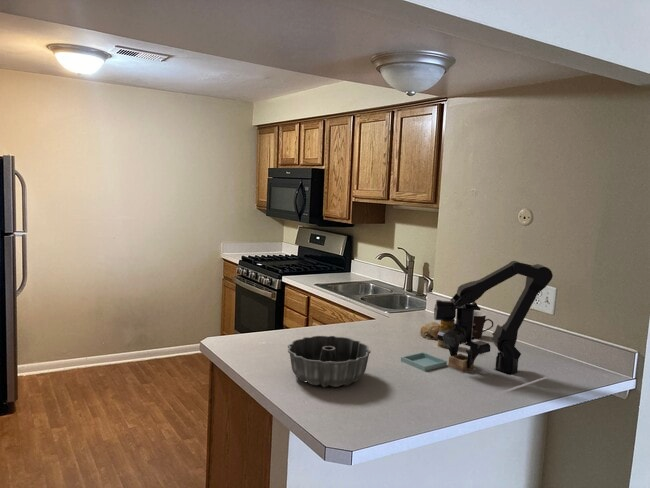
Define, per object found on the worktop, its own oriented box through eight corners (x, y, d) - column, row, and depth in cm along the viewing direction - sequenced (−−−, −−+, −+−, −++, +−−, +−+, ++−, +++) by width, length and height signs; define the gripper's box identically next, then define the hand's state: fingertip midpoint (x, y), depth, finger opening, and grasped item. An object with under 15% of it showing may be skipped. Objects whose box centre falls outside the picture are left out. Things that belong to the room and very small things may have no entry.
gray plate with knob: (477, 370, 179) (478, 362, 179) (462, 374, 175) (463, 366, 174) (459, 363, 186) (459, 355, 185) (444, 367, 181) (444, 359, 181)
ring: (473, 368, 180) (474, 358, 179) (462, 371, 176) (463, 361, 176) (459, 363, 184) (460, 353, 184) (448, 366, 181) (449, 356, 180)
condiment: (444, 344, 208) (446, 314, 207) (461, 350, 202) (464, 319, 201) (432, 347, 204) (434, 317, 202) (450, 353, 197) (452, 322, 196)
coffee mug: (458, 334, 223) (460, 311, 222) (474, 332, 227) (476, 310, 226) (477, 342, 213) (479, 318, 211) (493, 340, 216) (495, 317, 215)
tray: (446, 367, 182) (446, 361, 181) (424, 372, 175) (424, 366, 175) (422, 357, 191) (423, 352, 190) (400, 362, 184) (401, 356, 184)
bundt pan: (295, 396, 151) (297, 363, 150) (279, 365, 176) (280, 336, 175) (380, 391, 158) (382, 359, 157) (353, 361, 183) (354, 334, 182)
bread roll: (418, 345, 217) (419, 330, 213) (422, 329, 225) (422, 315, 221) (442, 348, 214) (443, 333, 210) (445, 332, 223) (446, 317, 218)
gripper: (428, 317, 181) (424, 361, 183) (471, 331, 166) (467, 378, 168) (449, 314, 187) (446, 356, 189) (493, 327, 173) (489, 372, 174)
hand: (461, 365), depth 180 cm, fingers closed on ring, 6 cm apart
